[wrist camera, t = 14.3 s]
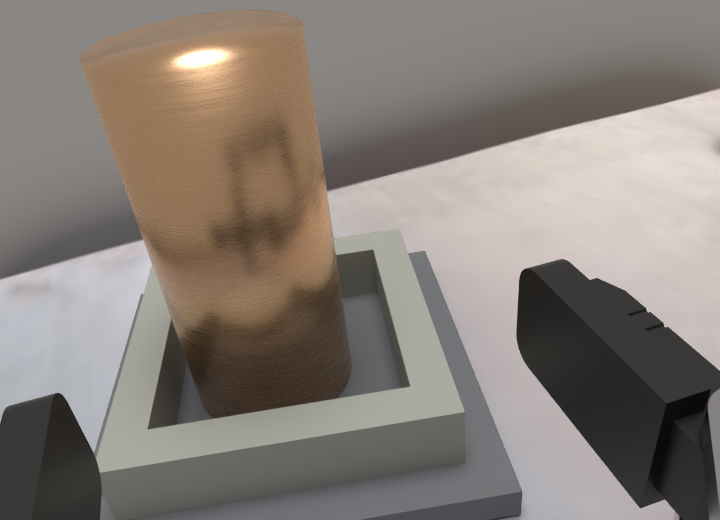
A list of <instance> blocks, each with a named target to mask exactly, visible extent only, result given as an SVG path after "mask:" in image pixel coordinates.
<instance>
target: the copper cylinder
mask: <svg viewBox="0 0 720 520" xmlns="http://www.w3.org/2000/svg"><path fill="white" fill-rule="evenodd" d="M80 62H81V65H82V68H83V71H84V74H85V76H86V79H87V82H88V85H89V88H90V90H91V93H92V96H93V99H94V102H95V105H96V107H97V110H98V113H99V116H100V119H101V122H102V124H103V127H104V130H105V133H106V136H107V138H108V141H109V144H110V147H111V150H112V152H113V155H114V158H115V161H116V164H117V167H118V169H119V172H120V175H121V178H122V181H123V184H124V186H125V189H126V192H127V195H128V198H129V200H130V203H131V206H132V209H133V211H134V214H135V217H136V220H137V223H138V226H139V229H140V231H141V234H142V237H143V240H144V243H145V246H146V248H147V251H148V254H149V257H150V260H151V262H152V265H153V268H154V271H155V274H156V277H157V279H158V282H159V285H160V288H161V291H162V293H163V296H164V299H165V302H166V305H167V308H168V310H169V313H170V316H171V319H172V322H173V324H174V327H175V330H176V333H177V336H178V339H179V341H180V344H181V347H182V350H183V353H184V355H185V358H186V361H187V364H188V367H189V370H190V372H191V375H192V378H193V381H194V384H195V387H196V389H197V392H198V395H199V398H200V400H201V403H202V405H203V407H204V408H205V410H206V411H207V412H208V413H209V414H210V415H211V416H212V417H213V418H214V419H215V418H221V417H228V416H234V415H240V414H246V413H252V412H258V411H264V410H270V409H277V408H283V407H289V406H295V405H301V404H307V403H313V402H319V401H325V400H332V399H337V398H338V396H339V395H340V394H341V393H342V391H343V390H344V388H345V386H346V384H347V382H348V380H349V377H350V373H351V364H352V363H351V355H350V348H349V341H348V334H347V327H346V320H345V313H344V306H343V300H342V293H341V286H340V279H339V272H338V265H337V258H336V251H335V244H334V237H333V230H332V224H331V217H330V210H329V203H328V196H327V189H326V182H325V175H324V168H323V161H322V155H321V147H320V141H319V134H318V127H317V120H316V113H315V106H314V99H313V92H312V85H311V79H310V71H309V66H308V58H307V51H306V44H305V37H304V30H303V23H302V21H301V20H300V19H299V18H297V17H296V16H293V15H291V14H287V13H282V12H277V11H265V10H237V11H222V12H212V13H204V14H197V15H190V16H184V17H178V18H173V19H168V20H163V21H159V22H155V23H151V24H147V25H144V26H140V27H137V28H133V29H130V30H127V31H124V32H121V33H118V34H116V35H113V36H111V37H108V38H106V39H104V40H102V41H100V42H98V43H96V44H94V45H92V46H91V47H90V48H88V49H87V50H86V51H85V52H84V53H83V54H82V56H81V58H80Z"/></svg>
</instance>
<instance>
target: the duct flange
mask: <svg viewBox="0 0 720 520" xmlns="http://www.w3.org/2000/svg"><path fill="white" fill-rule="evenodd" d="M334 244H335V251H336V258H337V265H338V272H339V279H340V286H341V293H342V300H343V306H344V313H345V320H346V327H347V334H348V341H349V348H350V355H351V363H352V364H351V373H350V377H349V380H348V382H347V384H346V386H345V388H344V390H343V391H342V393H341V394H340V395H339V396H338V398H337V399H332V400H325V401H319V402H313V403H307V404H301V405H295V406H289V407H283V408H277V409H270V410H264V411H258V412H252V413H246V414H240V415H234V416H228V417H221V418H215V419H214V418H213V417H212V416H211V415H210V414H209V413H208V412H207V411H206V410H205V408H204V407H203V405H202V403H201V400H200V398H199V395H198V392H197V389H196V387H195V384H194V381H193V378H192V375H191V372H190V370H189V367H188V364H187V361H186V358H185V355H184V353H183V350H182V347H181V344H180V341H179V339H178V336H177V333H176V330H175V327H174V324H173V322H172V319H171V316H170V313H169V310H168V308H167V305H166V302H165V299H164V296H163V293H162V291H161V288H160V285H159V282H158V279H157V277H156V274H155V271H154V268H153V266H152V268H151V271H150V274H149V278H148V281H147V285H146V288H145V292H144V294H141V297H140V300H139V303H138V307H137V310H136V314H135V317H134V320H133V324H132V327H131V331H130V334H129V337H128V341H127V344H126V347H125V351H124V354H123V358H122V361H121V364H120V368H119V371H118V374H117V378H116V381H115V385H114V388H113V391H112V395H111V398H110V402H109V405H108V408H107V412H106V415H105V418H104V422H103V425H102V429H101V432H100V435H99V439H98V442H97V445H96V449H95V452H94V455H95V458H96V460H97V464H98V467H99V472H100V477H101V486H102V497H101V512H100V520H492V519H497V518H503V517H509V516H514V515H520V514H521V501H522V490H521V487H520V485H519V482H518V480H517V477H516V475H515V472H514V470H513V467H512V465H511V462H510V460H509V458H508V455H507V453H506V450H505V448H504V445H503V443H502V440H501V438H500V435H499V433H498V430H497V428H496V425H495V423H494V420H493V418H492V415H491V413H490V411H489V408H488V406H487V403H486V401H485V398H484V396H483V393H482V391H481V388H480V386H479V383H478V381H477V378H476V376H475V373H474V371H473V368H472V366H471V364H470V361H469V359H468V356H467V354H466V351H465V349H464V346H463V344H462V341H461V339H460V336H459V334H458V331H457V329H456V326H455V324H454V322H453V319H452V317H451V314H450V312H449V309H448V307H447V304H446V302H445V299H444V297H443V294H442V292H441V289H440V287H439V284H438V282H437V279H436V277H435V275H434V272H433V270H432V267H431V265H430V262H429V260H428V257H427V255H426V252H425V251H421V252H414V253H408V252H407V249H406V246H405V243H404V241H403V238H402V235H401V232H400V230H399V229H394V230H387V231H380V232H374V233H367V234H360V235H354V236H347V237H341V238H334Z"/></svg>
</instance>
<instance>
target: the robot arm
mask: <svg viewBox="0 0 720 520" xmlns="http://www.w3.org/2000/svg"><path fill="white" fill-rule="evenodd" d="M517 342H518V347H519V350H520V353H521V355H522V358H523V360H524V362H525V363H526V365H527V366H528V368H529V369H530V370H531V371H532V373H533V374H534V375H535V377H536V378H537V379H538V380H539V382H540V383H541V384H542V385H543V387H544V388H545V389H546V390H547V392H548V393H549V394H550V395H551V397H552V398H553V399H554V400H555V402H556V403H557V404H558V405H559V407H560V408H561V409H562V411H563V412H564V413H565V414H566V416H567V417H568V418H569V419H570V421H571V422H572V423H573V424H574V426H575V427H576V428H577V429H578V431H579V432H580V433H581V434H582V436H583V437H584V438H585V439H586V441H587V442H588V443H589V445H590V446H591V447H592V448H593V450H594V451H595V452H596V453H597V455H598V456H599V457H600V458H601V460H602V461H603V462H604V463H605V465H606V466H607V467H608V468H609V470H610V471H611V472H612V473H613V475H614V476H615V477H616V479H617V480H618V481H619V482H620V484H621V485H622V486H623V487H624V489H625V490H626V491H627V492H628V494H629V495H630V496H631V497H632V499H633V500H634V501H635V502H636V504H637V505H638V506H639V508H642V507H645V506H648V505H651V504H653V503H656V502H659V501H662V500H664V499H665V500H666V501H667V502H668V503H669V504H670V506H671V507H672V508H673V509H674V510H675V514H674V517H673V520H720V371H719V370H718V369H717V368H716V367H715V366H713V365H712V364H711V363H710V362H709V361H707V360H706V359H705V358H704V357H703V356H702V355H700V354H699V353H698V352H697V351H696V350H694V349H693V348H692V347H691V346H690V345H689V344H687V343H686V342H685V341H684V340H683V339H682V338H680V337H679V336H678V335H677V334H676V333H674V332H673V331H672V330H671V329H670V328H669V327H666V328H665V327H664V323H663V322H661V321H660V320H659V319H658V318H657V317H656V316H654V315H653V314H652V313H651V312H649V313H648V312H647V311H646V308H645V307H644V306H643V305H641V304H640V303H639V302H638V301H637V300H636V299H634V298H633V297H632V296H631V295H630V294H628V293H627V292H626V291H625V290H622V289H620V288H618V287H616V286H614V285H611V284H609V283H607V282H605V281H602V280H600V279H598V278H596V279H592V280H589V279H588V278H587V277H586V276H585V275H583V274H582V273H581V272H580V271H579V270H578V269H577V268H576V267H574V266H573V265H572V264H571V263H570V262H568V261H567V260H564V259H560V260H556V261H553V262H549V263H545V264H541V265H538V266H534V267H530V268H527V269H524V270H523V271H522V272H521V275H520V280H519V296H518V315H517ZM101 497H102V486H101V477H100V472H99V467H98V464H97V460H96V458H95V455H94V453H93V451H92V449H91V447H90V445H89V443H88V441H87V439H86V438H85V436H84V434H83V432H82V430H81V428H80V426H79V424H78V422H77V420H76V418H75V416H74V414H73V412H72V410H71V408H70V406H69V404H68V402H67V401H66V399H65V398H64V396H63V395H62V394H60V393H55V394H52V395H48V396H44V397H41V398H37V399H33V400H29V401H26V402H22V403H18V404H14V405H11V406H8V407H7V408H6V409H5V410H4V412H3V415H2V419H1V423H0V520H100V512H101Z"/></svg>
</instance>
